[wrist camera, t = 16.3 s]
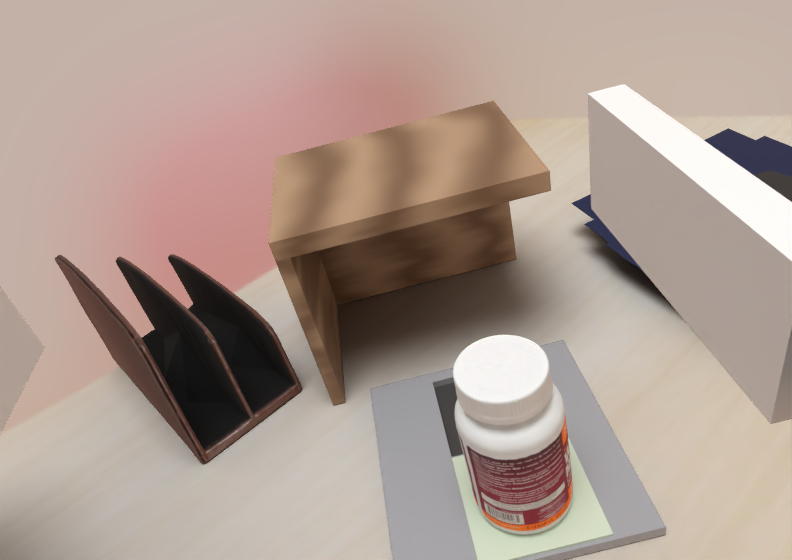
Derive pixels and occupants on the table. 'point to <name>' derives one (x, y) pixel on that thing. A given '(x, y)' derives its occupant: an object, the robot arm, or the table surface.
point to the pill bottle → (513, 433)
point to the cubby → (395, 214)
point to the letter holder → (194, 354)
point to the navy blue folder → (734, 146)
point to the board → (452, 492)
